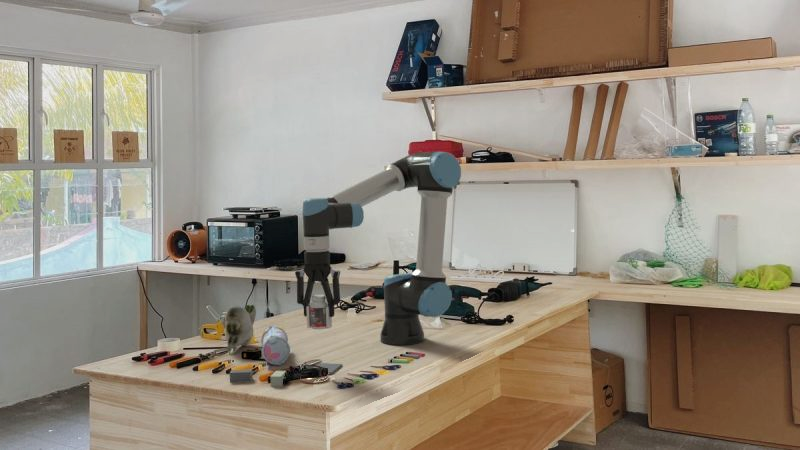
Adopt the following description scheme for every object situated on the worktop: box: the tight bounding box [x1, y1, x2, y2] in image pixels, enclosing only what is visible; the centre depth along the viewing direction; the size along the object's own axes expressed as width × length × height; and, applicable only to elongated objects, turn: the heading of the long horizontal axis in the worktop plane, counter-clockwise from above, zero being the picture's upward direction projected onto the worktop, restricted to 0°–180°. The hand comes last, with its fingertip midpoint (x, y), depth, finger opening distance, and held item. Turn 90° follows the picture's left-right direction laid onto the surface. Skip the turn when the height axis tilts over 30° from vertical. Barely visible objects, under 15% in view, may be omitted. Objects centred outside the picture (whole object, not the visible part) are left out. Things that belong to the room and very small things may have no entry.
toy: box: [224, 304, 257, 355], centre depth 276 cm, size 8×15×20 cm
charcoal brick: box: [229, 368, 254, 383], centre depth 234 cm, size 6×3×3 cm, turn 90°
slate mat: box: [318, 362, 343, 375], centre depth 244 cm, size 10×10×1 cm
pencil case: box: [260, 324, 291, 366], centre depth 259 cm, size 21×9×10 cm, turn 11°
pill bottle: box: [309, 294, 328, 330], centre depth 243 cm, size 5×5×10 cm
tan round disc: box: [300, 374, 330, 384], centre depth 233 cm, size 8×8×1 cm
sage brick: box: [269, 370, 287, 387], centre depth 230 cm, size 6×3×3 cm, turn 173°
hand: (319, 327), depth 243 cm, fingers closed on pill bottle, 5 cm apart
